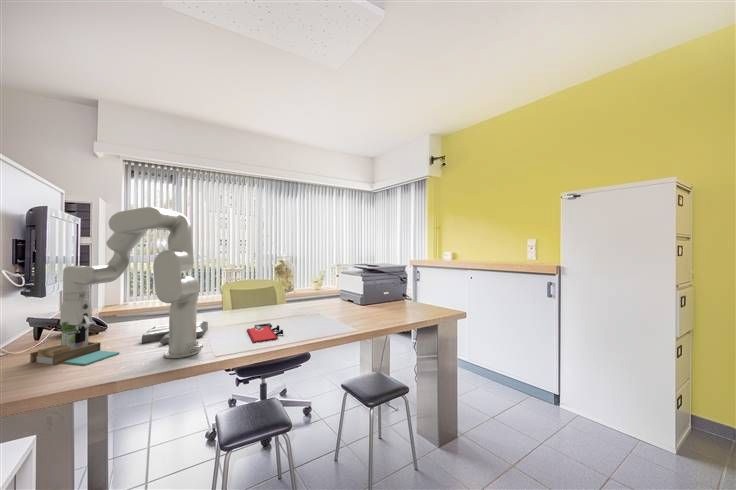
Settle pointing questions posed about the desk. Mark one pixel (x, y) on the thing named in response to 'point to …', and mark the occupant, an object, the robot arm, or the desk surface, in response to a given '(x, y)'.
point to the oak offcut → (52, 351)
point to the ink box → (71, 337)
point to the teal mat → (91, 358)
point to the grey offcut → (45, 360)
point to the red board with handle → (263, 333)
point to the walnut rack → (70, 353)
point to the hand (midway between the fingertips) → (74, 341)
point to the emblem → (163, 333)
